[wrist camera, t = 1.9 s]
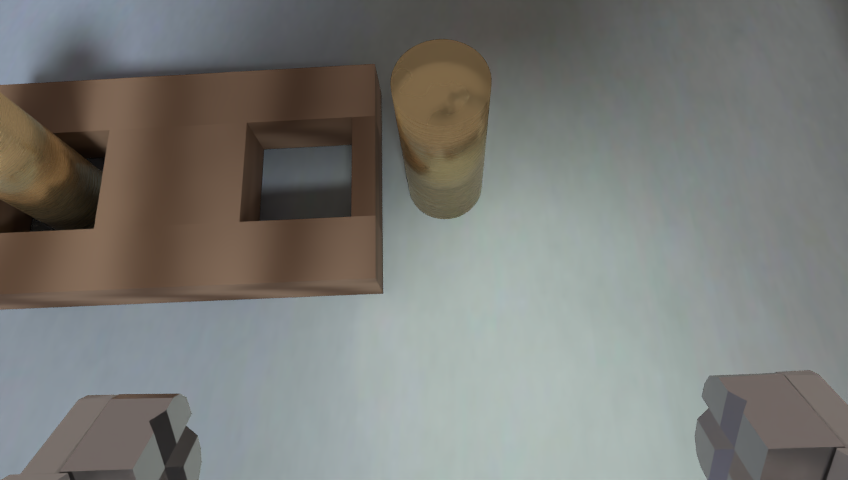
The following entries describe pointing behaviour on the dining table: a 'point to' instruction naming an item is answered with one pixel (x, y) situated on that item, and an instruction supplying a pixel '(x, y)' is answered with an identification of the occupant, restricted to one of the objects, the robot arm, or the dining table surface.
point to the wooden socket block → (200, 190)
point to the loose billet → (442, 124)
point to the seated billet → (45, 173)
